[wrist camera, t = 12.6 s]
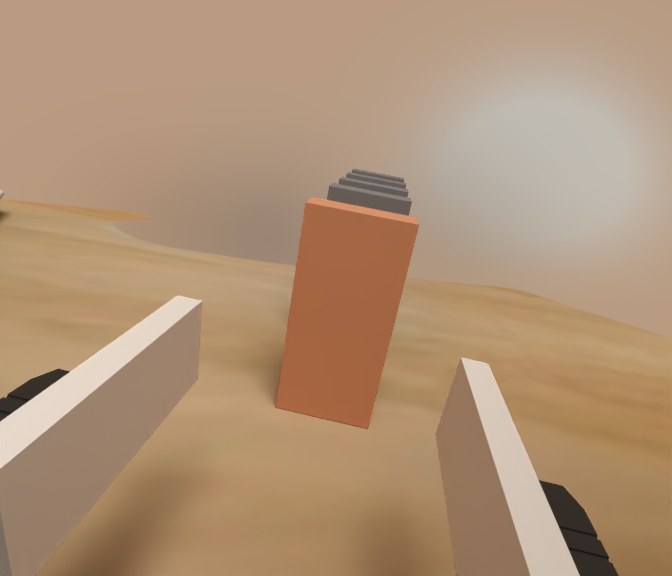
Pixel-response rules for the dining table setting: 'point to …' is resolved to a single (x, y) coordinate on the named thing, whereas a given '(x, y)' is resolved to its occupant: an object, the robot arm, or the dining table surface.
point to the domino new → (343, 309)
